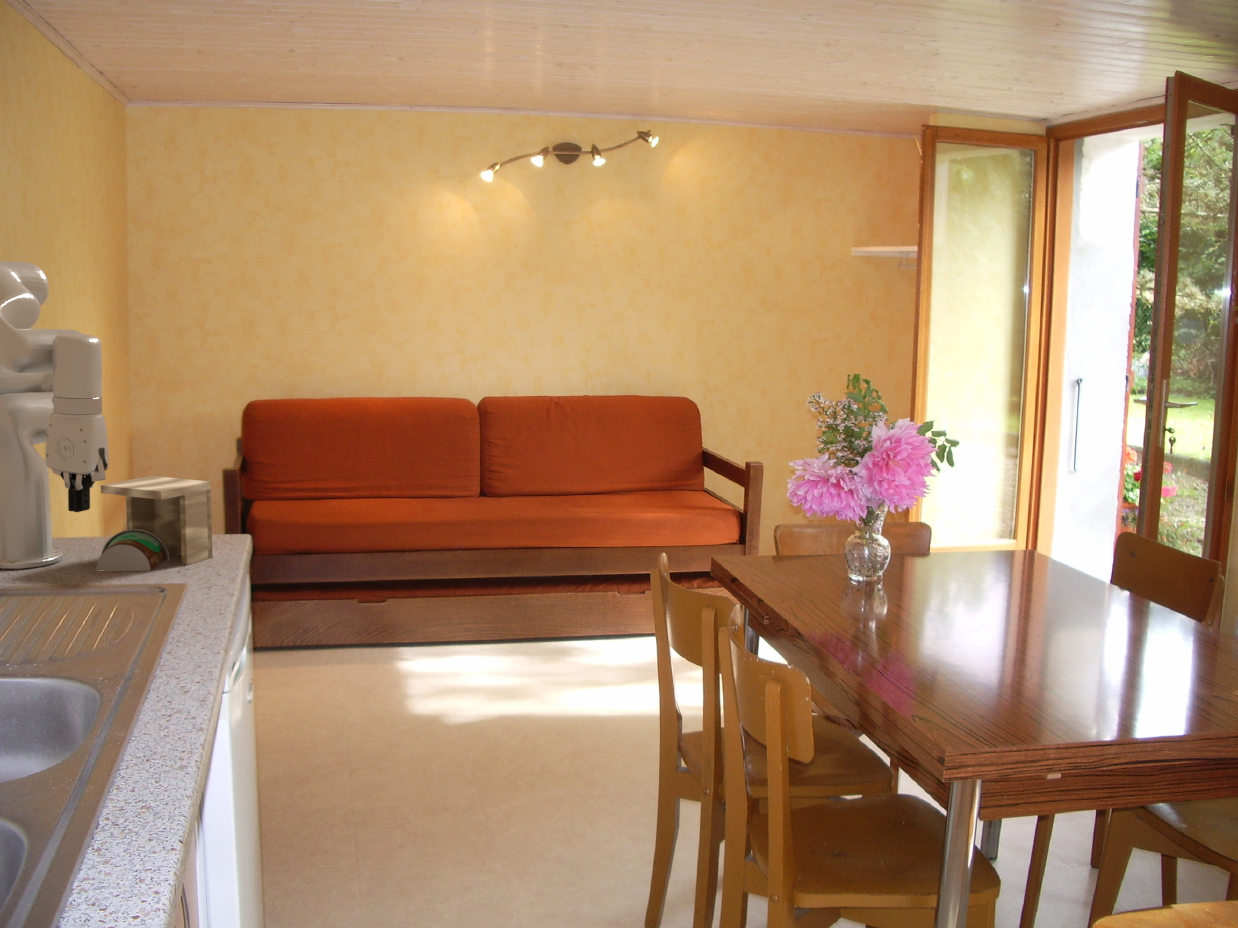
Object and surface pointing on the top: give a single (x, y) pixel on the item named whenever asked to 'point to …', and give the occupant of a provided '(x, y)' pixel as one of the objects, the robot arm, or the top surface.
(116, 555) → the food container
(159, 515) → the wooden stand
